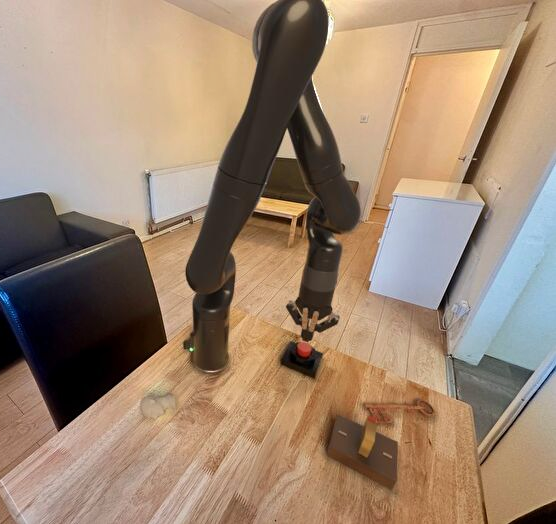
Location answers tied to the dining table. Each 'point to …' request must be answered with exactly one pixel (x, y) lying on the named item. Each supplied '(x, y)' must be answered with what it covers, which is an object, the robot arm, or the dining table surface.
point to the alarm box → (301, 360)
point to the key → (383, 406)
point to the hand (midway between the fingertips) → (306, 339)
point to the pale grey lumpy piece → (156, 405)
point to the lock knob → (367, 436)
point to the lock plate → (346, 452)
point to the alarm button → (303, 349)
